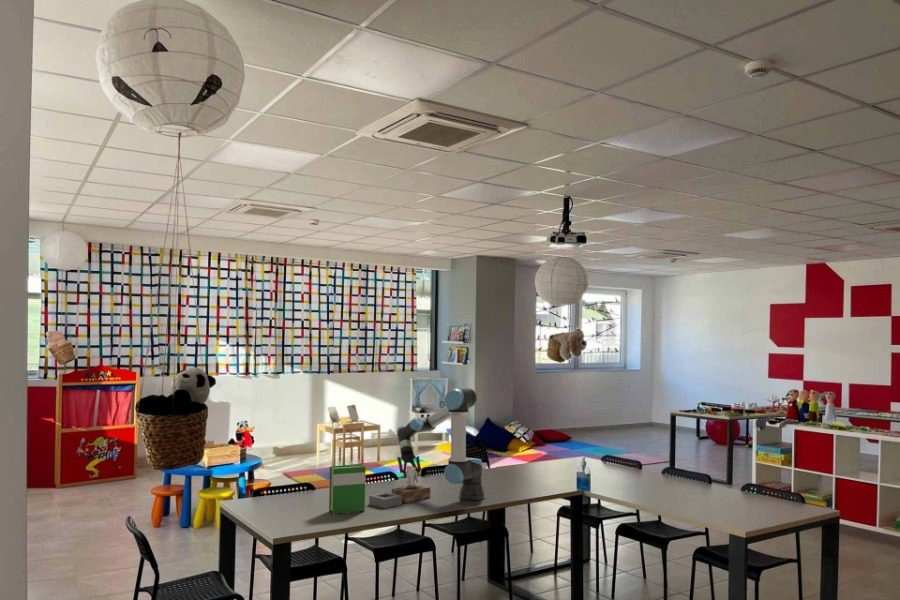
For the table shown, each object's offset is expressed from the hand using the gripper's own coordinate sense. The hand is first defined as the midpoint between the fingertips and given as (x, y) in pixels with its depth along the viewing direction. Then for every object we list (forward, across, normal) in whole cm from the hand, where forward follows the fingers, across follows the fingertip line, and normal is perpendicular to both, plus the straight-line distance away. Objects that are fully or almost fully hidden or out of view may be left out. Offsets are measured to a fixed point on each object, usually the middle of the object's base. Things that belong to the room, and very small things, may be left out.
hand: (412, 481), depth 398 cm
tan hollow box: (+5, 0, -10) cm, 11 cm away
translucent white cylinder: (+5, 0, -10) cm, 11 cm away
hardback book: (+20, +41, +5) cm, 46 cm away
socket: (+13, +18, -2) cm, 22 cm away
